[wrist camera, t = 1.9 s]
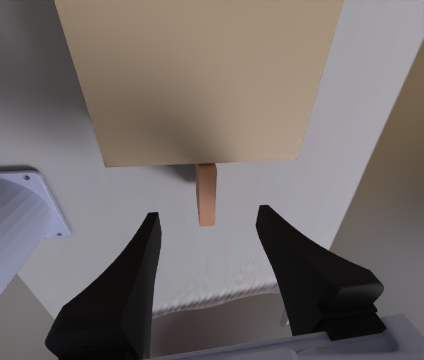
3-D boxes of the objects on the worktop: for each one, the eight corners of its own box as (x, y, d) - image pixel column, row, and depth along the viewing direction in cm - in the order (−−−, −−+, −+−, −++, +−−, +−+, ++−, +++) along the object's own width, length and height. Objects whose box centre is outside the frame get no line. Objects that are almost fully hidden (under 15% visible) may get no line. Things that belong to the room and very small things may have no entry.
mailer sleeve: (49, -193, 8) (-81, -439, 4) (325, -145, 10) (427, -288, 6) (124, 139, 16) (105, 167, 12) (270, 135, 18) (297, 159, 14)
